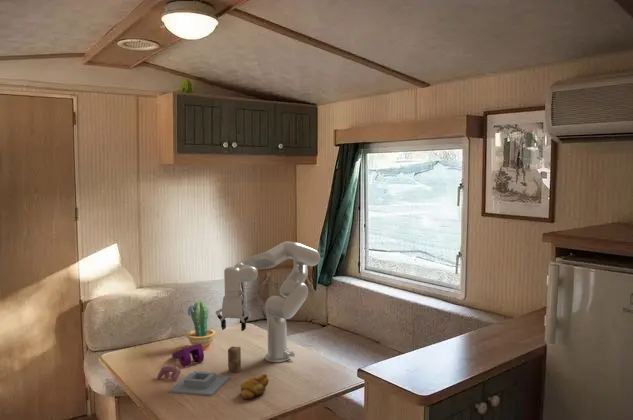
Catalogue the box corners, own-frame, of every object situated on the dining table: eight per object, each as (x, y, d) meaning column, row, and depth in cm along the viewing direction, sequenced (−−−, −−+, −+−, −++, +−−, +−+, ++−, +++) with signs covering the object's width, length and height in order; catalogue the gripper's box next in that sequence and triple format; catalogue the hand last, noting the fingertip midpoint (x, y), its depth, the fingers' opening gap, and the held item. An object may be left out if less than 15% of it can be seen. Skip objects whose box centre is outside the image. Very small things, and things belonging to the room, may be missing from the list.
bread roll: (250, 403, 207) (249, 383, 207) (233, 397, 213) (232, 378, 212) (271, 392, 218) (270, 373, 217) (254, 386, 223) (253, 368, 223)
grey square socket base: (230, 377, 234) (230, 369, 233) (212, 396, 214) (211, 387, 214) (189, 374, 238) (189, 366, 238) (168, 392, 218) (168, 383, 218)
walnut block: (240, 369, 243) (240, 347, 243) (237, 373, 239) (236, 350, 238) (232, 369, 244) (231, 346, 244) (228, 372, 240) (227, 349, 239)
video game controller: (179, 382, 232) (183, 366, 235) (174, 381, 228) (177, 365, 231) (161, 380, 236) (165, 364, 238) (155, 379, 232) (159, 363, 234)
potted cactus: (193, 342, 284) (192, 298, 282) (220, 343, 282) (219, 298, 280) (182, 352, 269) (180, 305, 267) (210, 353, 267) (209, 305, 265)
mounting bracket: (172, 372, 257) (187, 365, 245) (168, 355, 259) (183, 347, 247) (189, 367, 263) (205, 360, 251) (185, 350, 266) (201, 343, 253)
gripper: (253, 292, 241) (253, 328, 242) (218, 291, 245) (219, 326, 246) (247, 296, 234) (248, 333, 235) (212, 294, 237) (213, 330, 238)
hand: (233, 329), depth 240 cm, fingers open, 9 cm apart
